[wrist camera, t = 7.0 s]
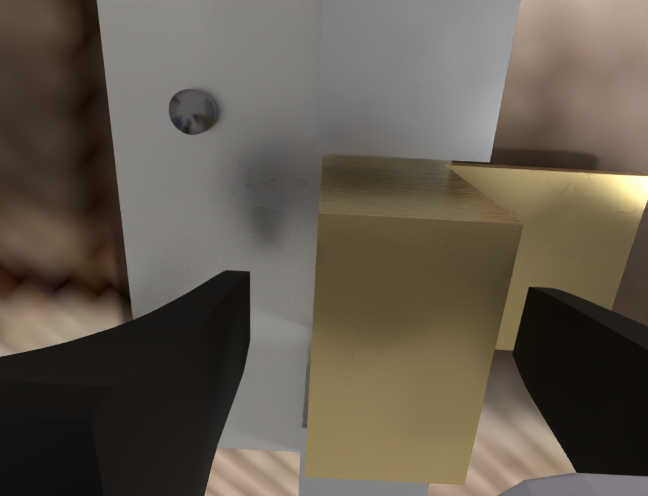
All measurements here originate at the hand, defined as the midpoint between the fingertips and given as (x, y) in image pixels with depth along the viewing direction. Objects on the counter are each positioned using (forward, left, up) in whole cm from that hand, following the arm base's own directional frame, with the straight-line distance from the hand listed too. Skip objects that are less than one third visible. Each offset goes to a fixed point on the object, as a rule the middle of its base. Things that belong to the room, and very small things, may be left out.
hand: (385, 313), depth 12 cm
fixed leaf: (+3, 0, -4) cm, 5 cm away
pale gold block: (-3, 0, -3) cm, 4 cm away
